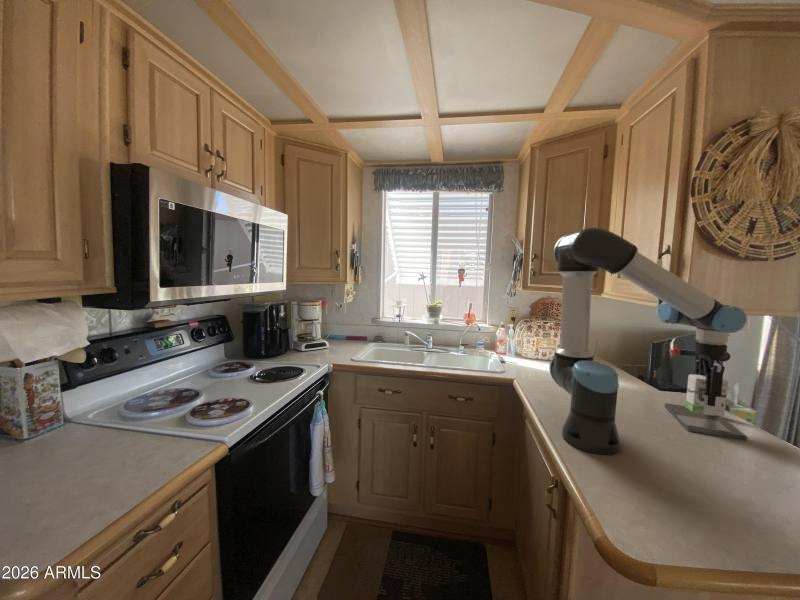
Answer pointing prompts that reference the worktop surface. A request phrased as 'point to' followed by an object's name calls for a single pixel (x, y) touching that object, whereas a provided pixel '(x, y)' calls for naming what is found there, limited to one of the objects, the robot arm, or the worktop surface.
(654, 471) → the worktop surface
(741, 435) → the press
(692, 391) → the ink box
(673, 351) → the lever
